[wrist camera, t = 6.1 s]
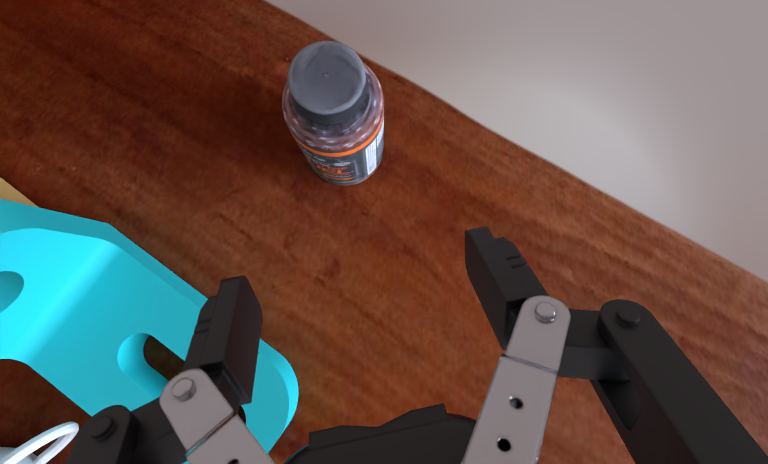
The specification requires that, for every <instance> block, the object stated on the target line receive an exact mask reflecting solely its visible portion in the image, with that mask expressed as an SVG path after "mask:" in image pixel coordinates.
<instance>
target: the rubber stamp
mask: <svg viewBox="0 0 768 464" xmlns="http://www.w3.org/2000/svg"><path fill="white" fill-rule="evenodd" d="M0 199H3V200H8V201H13V202H17V203H21V204H26V205H30V206H34V207H38V206H37V205H35V204H34V203H33V202H31V201H30V200H29V199H28V198H26V197H25V196H24V195H22V194H21V193H20V192H19V191H17V190H16V189H15V188H13V187H12V186H11V185H10V184H8V183H7V182H6V181H4V180H3V179H2V178H1V177H0Z"/></svg>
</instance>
